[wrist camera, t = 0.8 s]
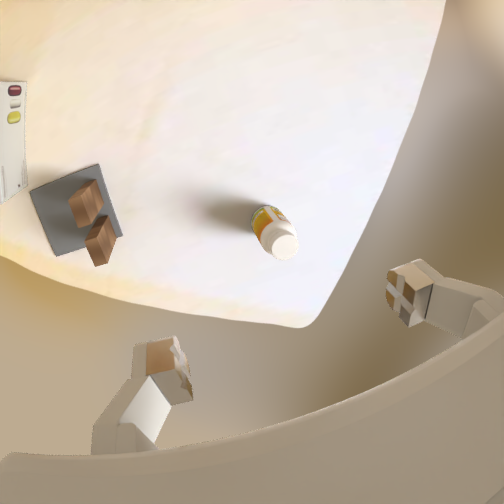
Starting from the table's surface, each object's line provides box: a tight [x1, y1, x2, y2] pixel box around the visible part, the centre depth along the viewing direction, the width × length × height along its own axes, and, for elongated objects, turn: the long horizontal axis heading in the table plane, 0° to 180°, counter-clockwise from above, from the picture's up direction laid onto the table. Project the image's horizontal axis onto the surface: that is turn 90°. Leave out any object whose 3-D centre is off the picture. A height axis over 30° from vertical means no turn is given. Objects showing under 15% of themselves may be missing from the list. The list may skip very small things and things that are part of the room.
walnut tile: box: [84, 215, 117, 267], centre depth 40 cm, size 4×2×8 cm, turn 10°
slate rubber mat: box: [30, 164, 123, 257], centre depth 42 cm, size 12×13×1 cm
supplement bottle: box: [251, 206, 299, 260], centre depth 46 cm, size 5×5×10 cm
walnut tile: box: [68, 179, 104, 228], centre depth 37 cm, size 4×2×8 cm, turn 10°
